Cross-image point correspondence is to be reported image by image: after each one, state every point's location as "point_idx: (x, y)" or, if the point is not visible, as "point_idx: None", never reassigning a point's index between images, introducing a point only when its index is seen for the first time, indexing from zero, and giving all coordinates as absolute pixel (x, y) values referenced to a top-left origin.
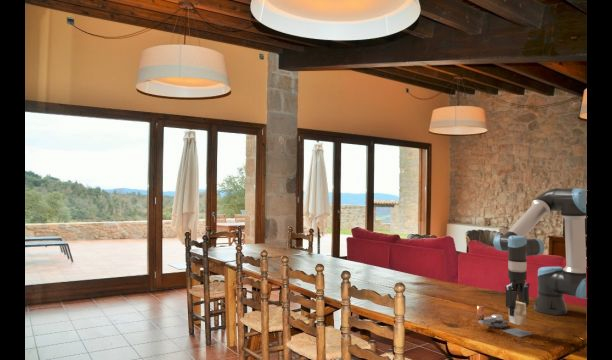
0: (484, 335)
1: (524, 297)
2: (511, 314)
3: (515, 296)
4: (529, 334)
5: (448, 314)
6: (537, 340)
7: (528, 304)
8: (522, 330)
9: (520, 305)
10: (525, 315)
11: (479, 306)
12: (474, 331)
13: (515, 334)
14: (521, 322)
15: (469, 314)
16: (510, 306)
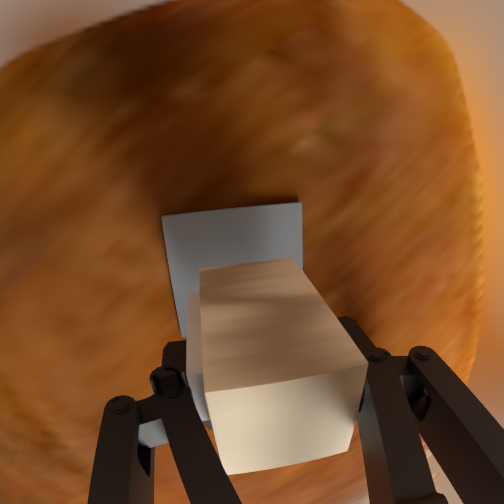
0: (415, 297)
1: (190, 482)
2: (356, 328)
3: (416, 464)
4: (202, 211)
5: (307, 490)
6: (231, 120)
7: (114, 399)
8: (183, 286)
9: (325, 362)
10: (208, 302)
11: (425, 445)
12: (403, 349)
13: (290, 244)
14: (261, 268)
15: (236, 489)
16: (434, 356)
